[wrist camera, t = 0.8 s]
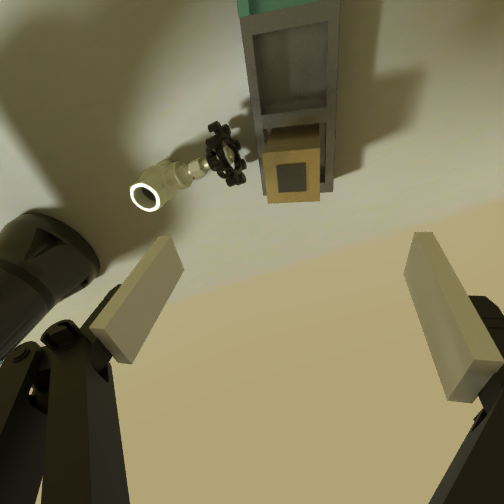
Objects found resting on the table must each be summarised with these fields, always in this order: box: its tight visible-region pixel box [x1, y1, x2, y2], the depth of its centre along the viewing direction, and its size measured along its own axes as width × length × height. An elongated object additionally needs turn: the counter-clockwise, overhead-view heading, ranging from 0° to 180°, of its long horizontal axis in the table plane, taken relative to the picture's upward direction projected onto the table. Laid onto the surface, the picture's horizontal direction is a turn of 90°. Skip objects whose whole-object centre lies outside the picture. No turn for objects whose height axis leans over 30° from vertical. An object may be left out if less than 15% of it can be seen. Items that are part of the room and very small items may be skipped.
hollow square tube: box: [262, 123, 320, 203], centre depth 26 cm, size 5×5×8 cm
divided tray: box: [237, 0, 340, 196], centre depth 24 cm, size 7×22×3 cm, turn 8°
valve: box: [130, 121, 247, 212], centre depth 30 cm, size 7×7×12 cm
